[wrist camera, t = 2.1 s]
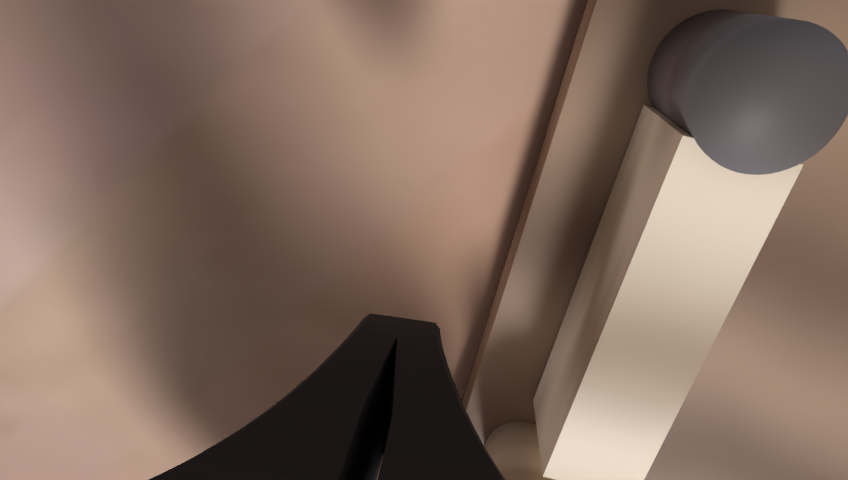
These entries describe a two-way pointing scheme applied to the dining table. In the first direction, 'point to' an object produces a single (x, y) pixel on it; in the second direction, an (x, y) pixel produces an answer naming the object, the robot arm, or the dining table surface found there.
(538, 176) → the stool seat
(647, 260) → the leg bar
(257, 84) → the dining table surface
